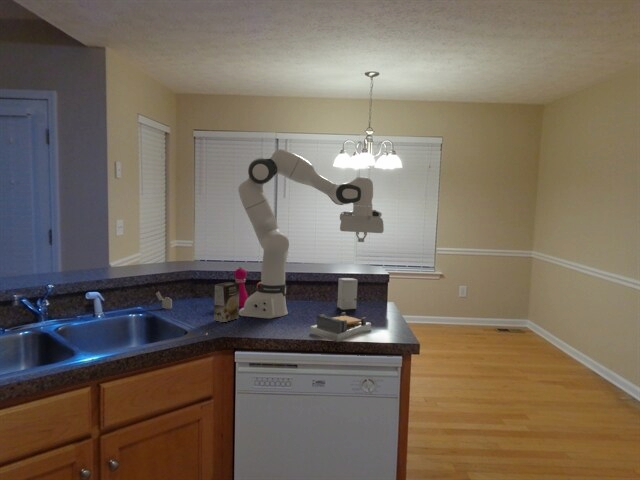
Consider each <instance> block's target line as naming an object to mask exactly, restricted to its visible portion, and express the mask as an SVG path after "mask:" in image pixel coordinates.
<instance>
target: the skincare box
mask: <svg viewBox="0 0 640 480" xmlns="http://www.w3.org/2000/svg"><path fill="white" fill-rule="evenodd" d="M337 285H338V286H337V289H338V290H337V305H336V306H337V308H338V309H339V310H354V309H355V310H357V298H358V279H356V278H353V277H340V278H339V277H338V284H337Z"/></svg>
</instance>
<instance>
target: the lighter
mask: <svg viewBox="0 0 640 480" xmlns="http://www.w3.org/2000/svg"><path fill="white" fill-rule="evenodd" d="M155 295H156V297H157V299H158V300H159V302H160V301H161V309H162V308H165V309H164V310H168V309H169V310H172V309H173V300H172V298H171V297H167V296H166V297H164V298H163V296H162V294H161V292H160V291H157V292H156V293H155ZM171 308H172V309H171Z"/></svg>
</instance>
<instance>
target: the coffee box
mask: <svg viewBox="0 0 640 480" xmlns="http://www.w3.org/2000/svg"><path fill="white" fill-rule="evenodd" d="M213 311H214V312H213V314H214V317H213V321H214V320H216V321H220V322H219V323H221V322H227V323H229V322H228V321H231V320H234V319H237V320H239V319H238V318H240V317H239V316H240V315H239V311H240V307H239V283H236V282H234V281H233V282H231V281H227V282H223V283H222V282H221V283H216V284H214V310H213ZM216 321H215V322H216ZM234 321H235V320H234ZM231 322H232V321H231Z"/></svg>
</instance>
